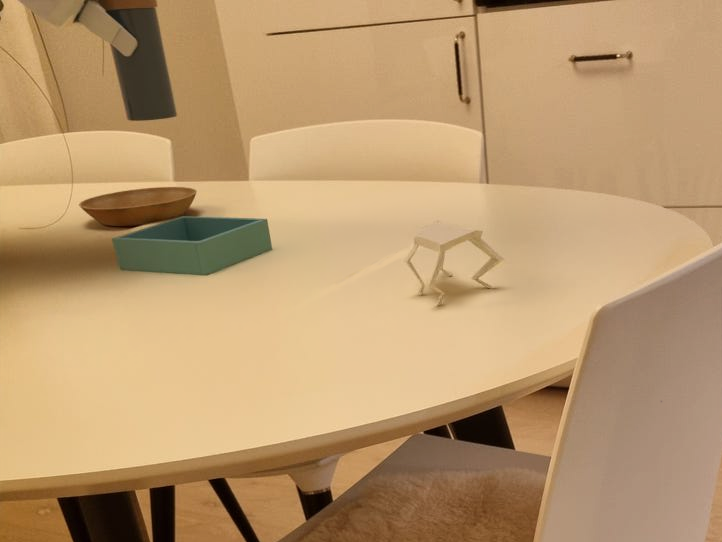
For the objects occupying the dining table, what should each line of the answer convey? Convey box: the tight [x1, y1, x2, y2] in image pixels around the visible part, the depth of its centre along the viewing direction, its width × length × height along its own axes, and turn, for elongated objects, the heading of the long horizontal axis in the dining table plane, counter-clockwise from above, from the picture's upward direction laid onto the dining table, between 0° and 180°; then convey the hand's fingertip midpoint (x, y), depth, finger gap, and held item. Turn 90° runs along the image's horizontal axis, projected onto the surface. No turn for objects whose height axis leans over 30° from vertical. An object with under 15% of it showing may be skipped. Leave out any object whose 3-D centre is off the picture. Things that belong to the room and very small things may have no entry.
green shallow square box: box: [111, 215, 273, 276], centre depth 98 cm, size 11×11×4 cm
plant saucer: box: [78, 186, 198, 227], centre depth 122 cm, size 15×15×3 cm
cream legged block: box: [404, 220, 505, 306], centre depth 84 cm, size 12×8×5 cm
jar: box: [98, 0, 179, 122], centre depth 93 cm, size 5×5×10 cm
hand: (144, 48), depth 92 cm, fingers closed on jar, 5 cm apart
